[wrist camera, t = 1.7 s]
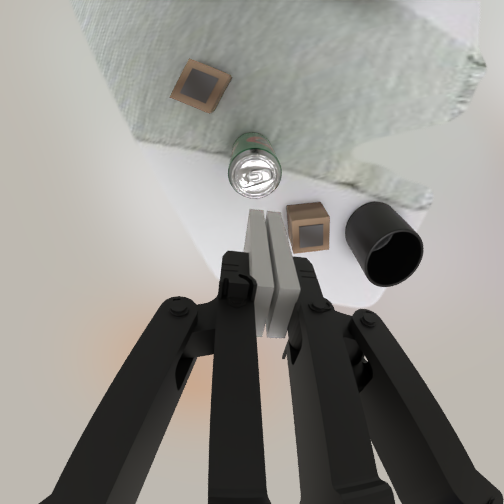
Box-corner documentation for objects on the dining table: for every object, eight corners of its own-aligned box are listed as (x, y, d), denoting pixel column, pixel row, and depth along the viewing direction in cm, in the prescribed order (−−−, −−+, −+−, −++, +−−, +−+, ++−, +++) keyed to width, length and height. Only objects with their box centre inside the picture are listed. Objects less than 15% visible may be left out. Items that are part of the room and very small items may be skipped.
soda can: (229, 135, 33) (222, 156, 23) (268, 129, 33) (278, 146, 23) (236, 171, 36) (233, 206, 26) (274, 165, 36) (286, 197, 26)
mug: (349, 271, 46) (366, 307, 38) (341, 209, 39) (362, 239, 32) (396, 256, 44) (419, 289, 37) (395, 195, 38) (425, 222, 31)
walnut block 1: (196, 62, 28) (189, 58, 24) (232, 77, 29) (230, 74, 25) (179, 96, 30) (169, 97, 26) (214, 110, 32) (209, 113, 27)
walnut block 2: (286, 205, 39) (291, 221, 35) (320, 201, 39) (330, 217, 35) (288, 235, 42) (293, 254, 37) (320, 231, 42) (329, 250, 37)
